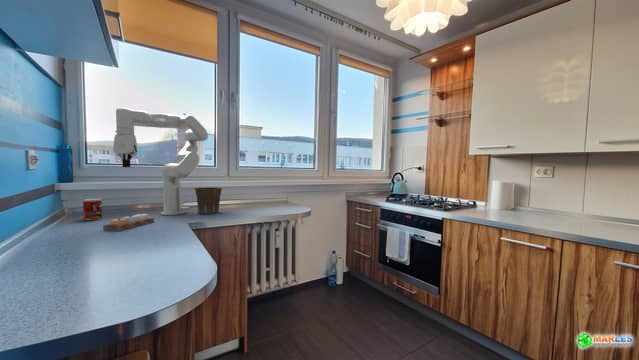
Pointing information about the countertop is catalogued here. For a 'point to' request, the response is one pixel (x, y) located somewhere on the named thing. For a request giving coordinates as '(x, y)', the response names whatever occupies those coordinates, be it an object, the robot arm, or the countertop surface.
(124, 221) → the tile three pip
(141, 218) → the tile one pip
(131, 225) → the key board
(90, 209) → the canned food
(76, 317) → the countertop surface
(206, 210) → the plant pot
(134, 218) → the tile two pip
